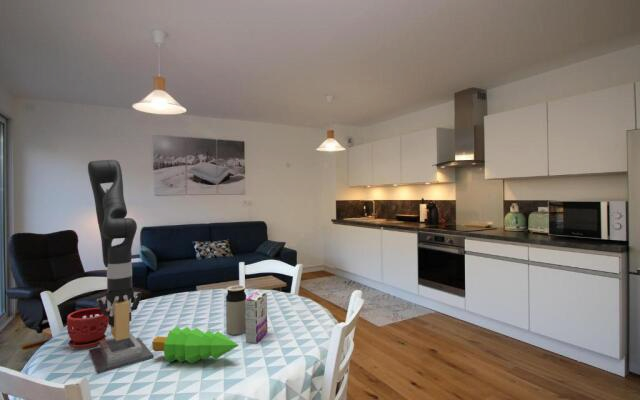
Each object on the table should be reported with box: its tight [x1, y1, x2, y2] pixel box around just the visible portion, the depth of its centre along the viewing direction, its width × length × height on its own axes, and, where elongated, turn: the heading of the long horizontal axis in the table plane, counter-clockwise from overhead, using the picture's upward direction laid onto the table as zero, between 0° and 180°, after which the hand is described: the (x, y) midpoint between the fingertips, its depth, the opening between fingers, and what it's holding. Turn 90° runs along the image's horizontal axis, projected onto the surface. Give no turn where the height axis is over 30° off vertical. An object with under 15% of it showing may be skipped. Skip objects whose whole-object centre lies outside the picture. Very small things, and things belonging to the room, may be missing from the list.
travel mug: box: [225, 285, 247, 336], centre depth 137 cm, size 8×8×18 cm
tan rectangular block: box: [110, 301, 131, 341], centre depth 116 cm, size 4×9×12 cm, turn 41°
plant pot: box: [66, 307, 109, 350], centre depth 126 cm, size 13×13×12 cm
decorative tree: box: [152, 326, 240, 365], centre depth 111 cm, size 11×12×30 cm
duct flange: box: [88, 333, 154, 375], centre depth 116 cm, size 20×16×4 cm
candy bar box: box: [245, 291, 268, 344], centre depth 130 cm, size 11×5×16 cm, turn 168°
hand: (120, 324), depth 117 cm, fingers closed on tan rectangular block, 4 cm apart
